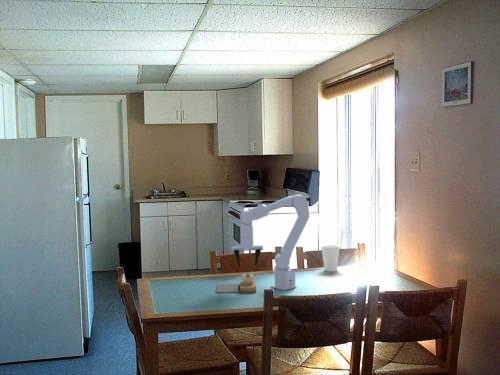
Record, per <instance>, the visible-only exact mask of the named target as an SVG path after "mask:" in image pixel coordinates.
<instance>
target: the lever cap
mask: <svg viewBox="0 0 500 375" xmlns="http://www.w3.org/2000/svg"><path fill="white" fill-rule="evenodd" d="M242 279H243V285H253V279H254V275H253V273H243V274H242Z"/></svg>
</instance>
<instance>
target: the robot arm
mask: <svg viewBox="0 0 500 375" xmlns="http://www.w3.org/2000/svg"><path fill="white" fill-rule="evenodd" d="M284 207H288V208H294V209H295V211H296V214H297V218H296V220H295V221H294V224H293V225H292V228H291V230H290V232H289V234H288V236H287V238H286V240H285V242H284V244H283V246H282V247H281V249H279V252H278V253H276V254H275V256H274V262H275V266H274V268H273V269H274V271H273V272H274V275H273V276H274V284H273V285H270V288H274V289H277V290H283V291H286V290H291V289H296V288H297V285H296V274H295V271H294V270H292V269H291V266H290V259H291V257H292V254H293V251H294V249H295V247H296V245H297V243H298V240H299V239H300V237H301V235H302V234H303V231H304V229H305V227H306V224H308V221H309V219H310V211H309V203H308V201H307V198H306V197H305V196H304V195H301V194H299V193H296V194H294V195H288V196H286V197H283V198H281V199H279V200H276V201H274V202H272V203H270V204H267V205H266V204H265V203H264V204H261V203H258V204H257V206H255V207H253V208H248V209H247V210H244V211H242V212H241V214H240V215H239V219H240V245H236V246H235V245H234V246H231V251H232V252H233V254H234V256H235V258H236V261H237V266H238V267H239V268H241V262H240V261H241V259H240V251H241V252H243V251H244V252H245V251H254V257H255V259H254V266H255V267H258V261H259V258H260V255H261V253H262V251H264V246H263V245H254V227H253V221H258V220H259V219H260V220H261V219H263V218H265V217H268V215H269V213H270V212H272V211H275V210H279V209H281V208H284Z"/></svg>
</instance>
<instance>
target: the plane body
mask: <svg viewBox="0 0 500 375" xmlns="http://www.w3.org/2000/svg"><path fill="white" fill-rule="evenodd" d="M239 284H240V286H239V287H240V291H239V292H240V294H254V293H257V284H256V278H253V285H243V278H240V283H239Z"/></svg>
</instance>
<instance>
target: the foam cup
mask: <svg viewBox="0 0 500 375" xmlns="http://www.w3.org/2000/svg"><path fill="white" fill-rule="evenodd" d="M320 247H321V253H322V261H323V268H324V272H325V271H326V272H336V271H338V265H339V264H338V263H339V257H340V250H341V248H340V247H341V246H340V245H339V244H333V243H332V244H331V243H329V244H322V245H321V246H320Z"/></svg>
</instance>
